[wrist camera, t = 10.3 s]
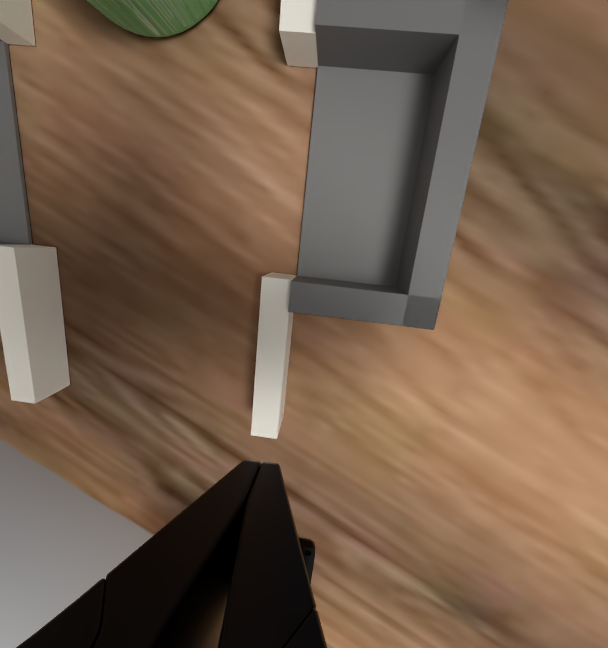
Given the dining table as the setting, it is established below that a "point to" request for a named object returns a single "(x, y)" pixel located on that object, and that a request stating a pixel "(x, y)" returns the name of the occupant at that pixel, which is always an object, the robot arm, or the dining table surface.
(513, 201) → the dining table surface
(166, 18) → the ramekin
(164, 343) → the dining table surface
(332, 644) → the dining table surface
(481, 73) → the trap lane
